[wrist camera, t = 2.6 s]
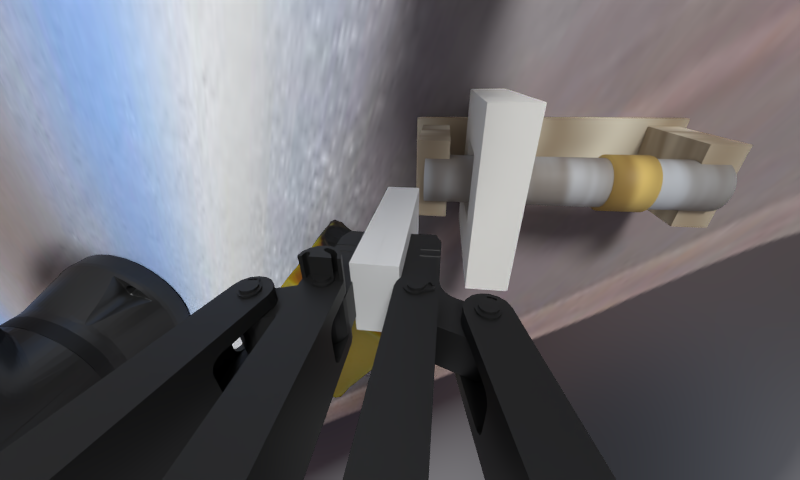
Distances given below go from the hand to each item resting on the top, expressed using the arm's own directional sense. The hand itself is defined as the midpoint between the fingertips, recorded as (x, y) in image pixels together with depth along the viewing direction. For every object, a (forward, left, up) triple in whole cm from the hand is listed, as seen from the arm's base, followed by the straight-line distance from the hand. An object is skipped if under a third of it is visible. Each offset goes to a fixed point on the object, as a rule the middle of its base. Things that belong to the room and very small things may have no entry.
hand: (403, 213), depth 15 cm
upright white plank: (+5, 0, -12) cm, 13 cm away
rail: (+9, 0, -12) cm, 15 cm away
